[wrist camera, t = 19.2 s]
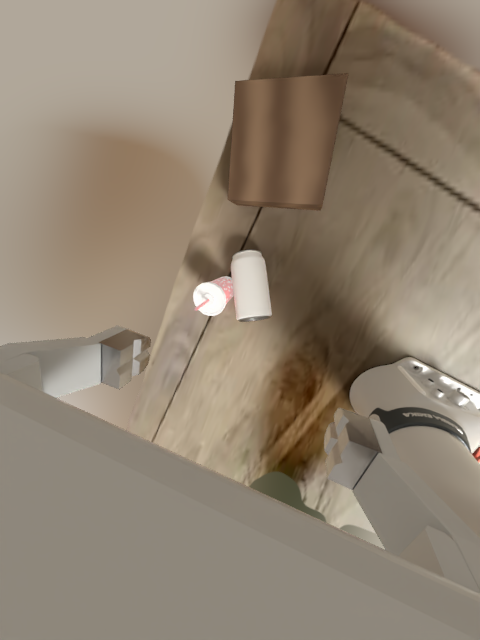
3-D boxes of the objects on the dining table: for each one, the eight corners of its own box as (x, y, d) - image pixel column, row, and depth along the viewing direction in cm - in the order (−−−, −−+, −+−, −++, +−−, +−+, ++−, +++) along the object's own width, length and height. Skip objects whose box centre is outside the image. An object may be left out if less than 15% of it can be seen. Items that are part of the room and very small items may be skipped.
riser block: (341, 101, 34) (348, 73, 28) (320, 210, 39) (322, 205, 33) (245, 105, 37) (235, 81, 32) (237, 205, 42) (227, 199, 37)
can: (229, 322, 41) (222, 259, 42) (254, 321, 45) (247, 264, 46) (254, 316, 36) (246, 245, 37) (279, 316, 40) (271, 252, 42)
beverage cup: (213, 299, 49) (180, 324, 37) (212, 271, 47) (176, 288, 35) (240, 302, 48) (214, 329, 35) (240, 273, 45) (212, 292, 33)
